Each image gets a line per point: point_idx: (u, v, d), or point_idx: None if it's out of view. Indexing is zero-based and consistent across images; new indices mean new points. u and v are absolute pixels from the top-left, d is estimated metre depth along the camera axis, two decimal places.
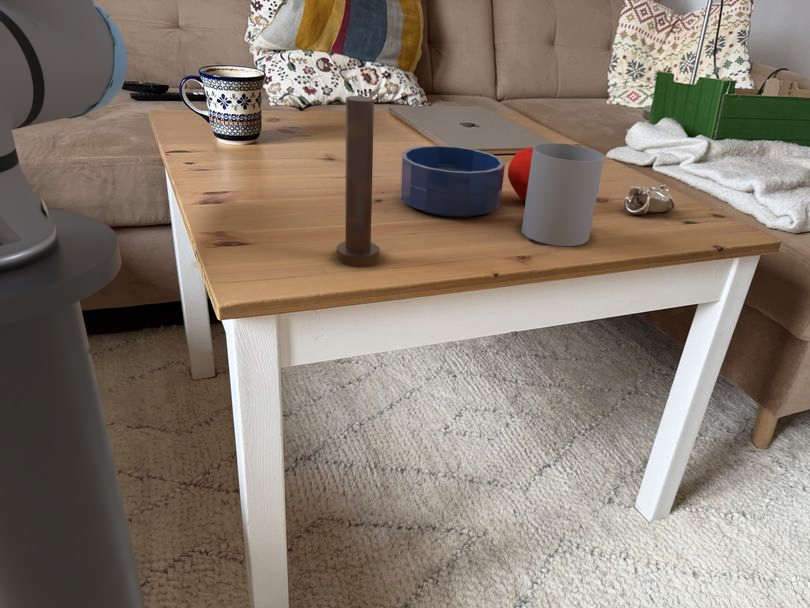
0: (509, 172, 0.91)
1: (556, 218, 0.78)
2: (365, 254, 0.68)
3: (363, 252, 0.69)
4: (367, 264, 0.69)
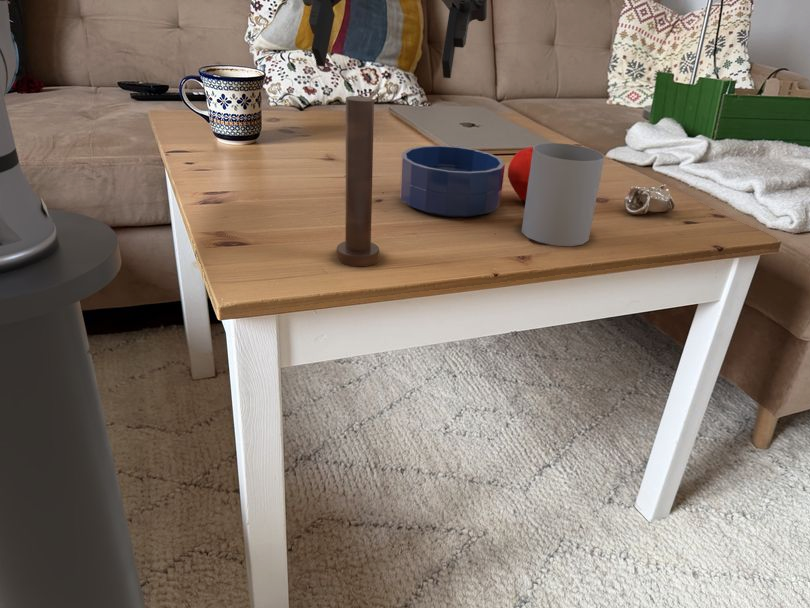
0: (509, 172, 0.91)
1: (556, 218, 0.78)
2: (365, 254, 0.68)
3: (363, 252, 0.69)
4: (367, 264, 0.69)
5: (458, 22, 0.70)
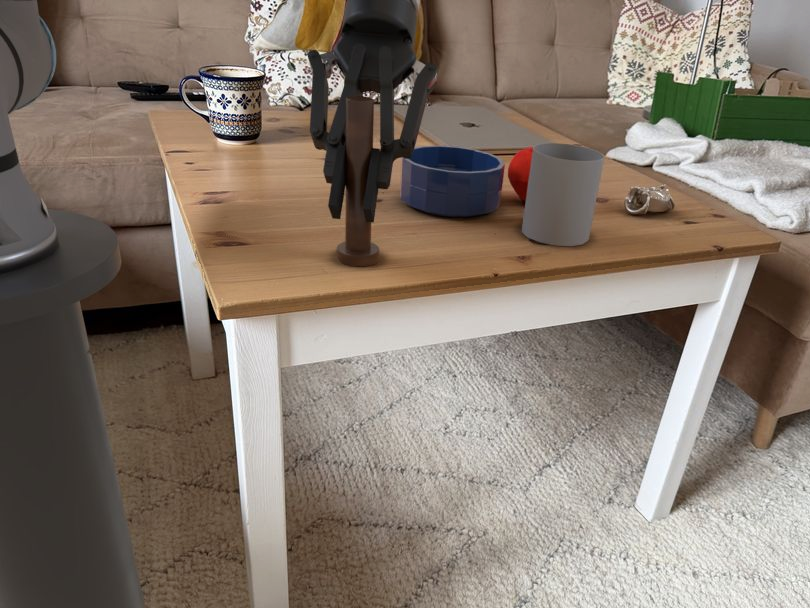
0: (509, 172, 0.91)
1: (556, 218, 0.78)
2: (365, 254, 0.68)
3: (363, 252, 0.69)
4: (367, 264, 0.69)
5: (381, 163, 0.65)
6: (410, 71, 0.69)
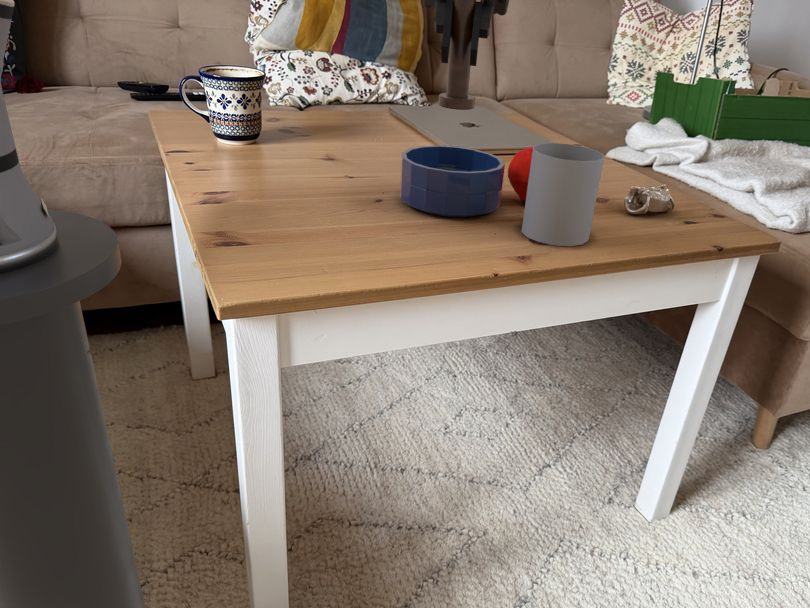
0: (509, 172, 0.91)
1: (556, 218, 0.78)
2: (465, 99, 0.80)
3: (463, 98, 0.81)
4: (466, 108, 0.81)
5: (483, 15, 0.77)
6: None
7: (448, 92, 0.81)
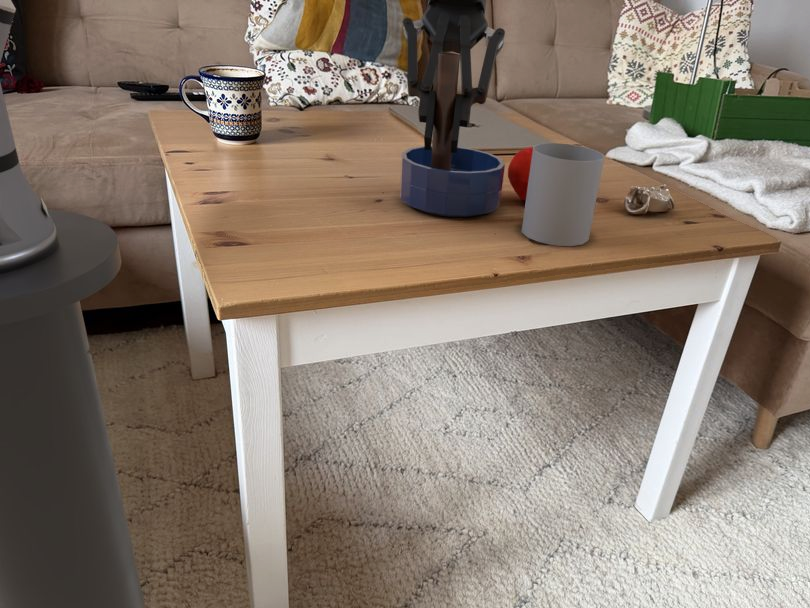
0: (509, 172, 0.91)
1: (556, 218, 0.78)
2: None
3: None
4: None
5: (463, 106, 0.83)
6: (482, 35, 0.87)
7: None
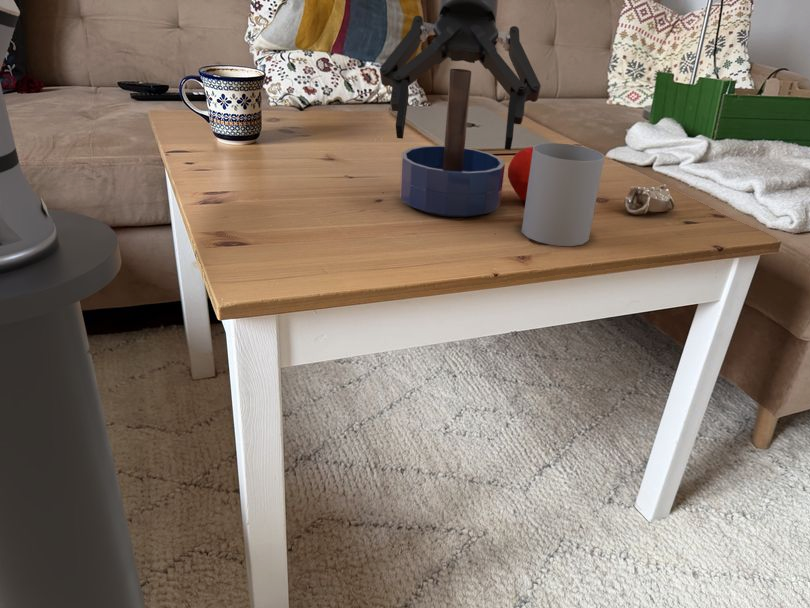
0: (509, 172, 0.91)
1: (556, 218, 0.78)
2: None
3: None
4: None
5: (517, 103, 0.84)
6: (497, 41, 0.87)
7: None
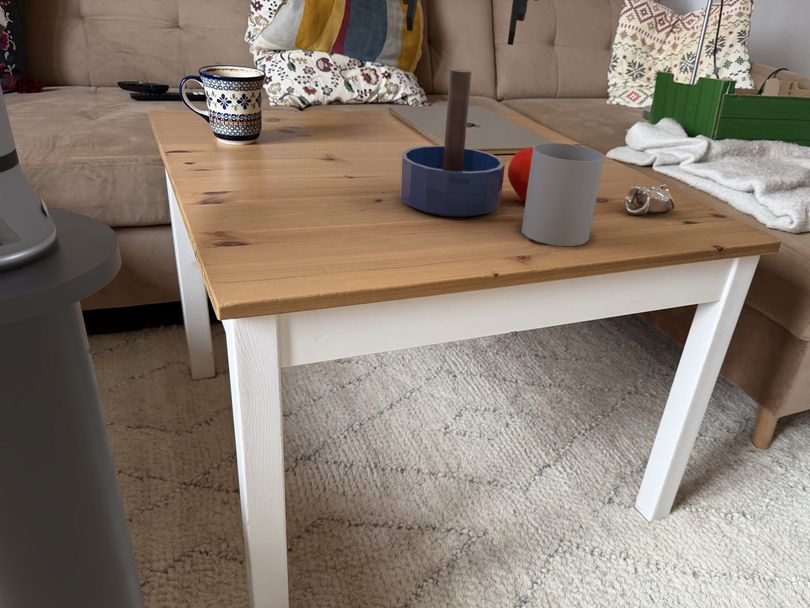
0: (509, 172, 0.91)
1: (556, 218, 0.78)
2: None
3: None
4: None
5: (521, 0, 0.89)
6: None
7: None
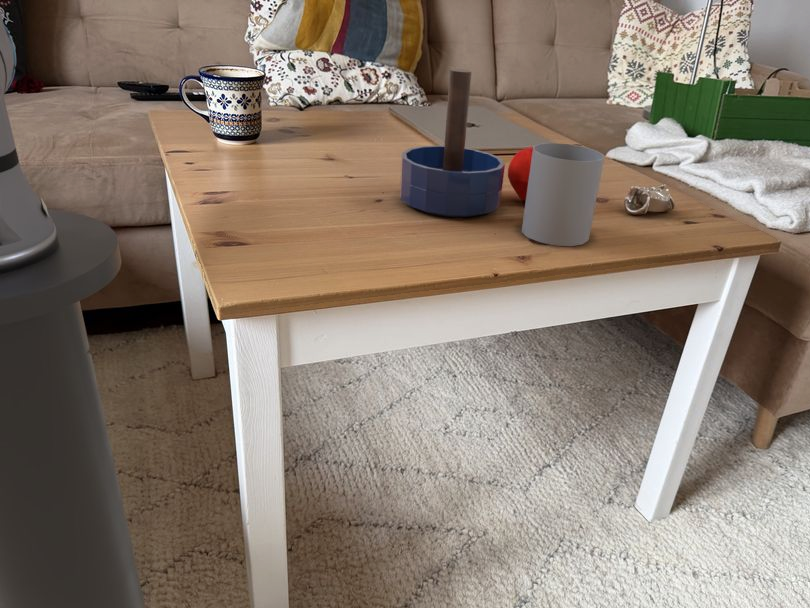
0: (509, 172, 0.91)
1: (556, 218, 0.78)
2: None
3: None
4: None
5: None
6: None
7: None
